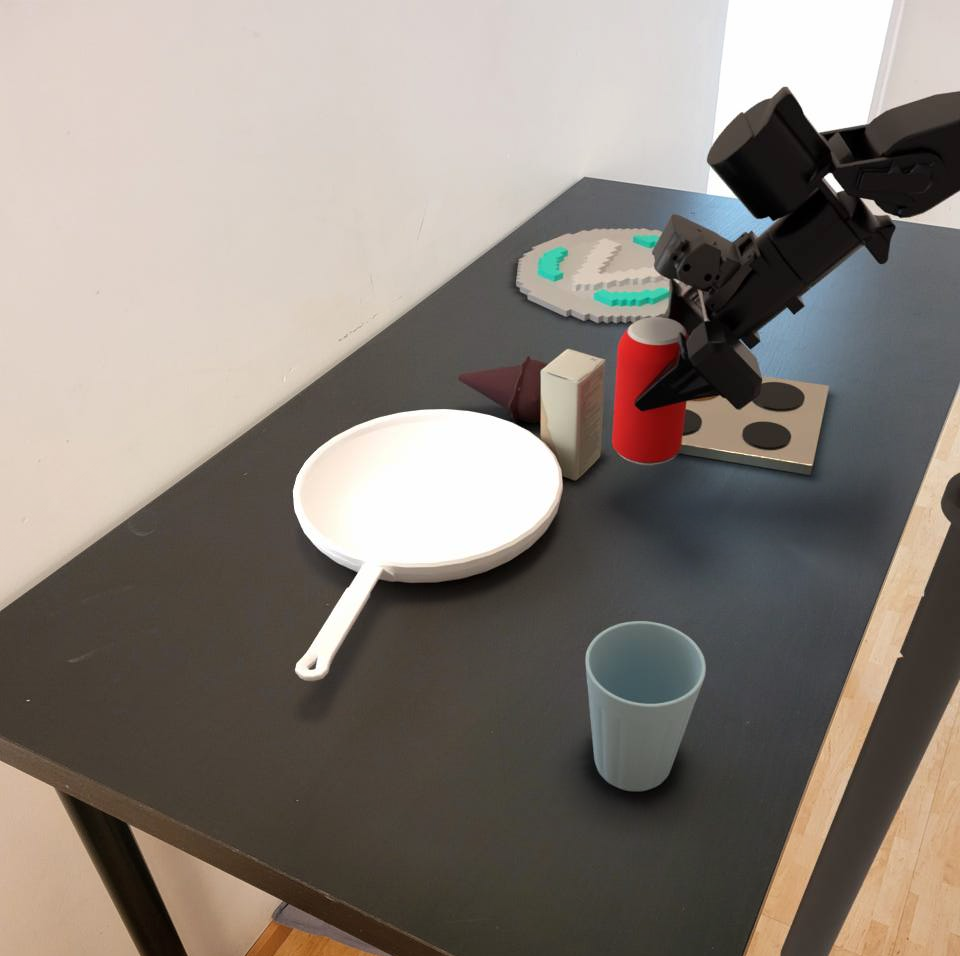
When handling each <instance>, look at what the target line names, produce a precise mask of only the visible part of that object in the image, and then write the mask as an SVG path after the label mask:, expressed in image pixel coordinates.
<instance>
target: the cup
mask: <svg viewBox="0 0 960 956" xmlns="http://www.w3.org/2000/svg"><path fill="white" fill-rule="evenodd" d="M584 664H585V675H586V684H587V695H588V706H589V717H590V729H591V739H592V740H591V741H592V747H593V748H592V749H593V760H594V764H595V767H596V769H597V772H598V774H599V775H600V776H601V777H602V778H603V779H604V780H605V781H606V782H607V783H608V784H609V785H611V786H613V787H615V788H617V789H620V790H623V791H627V792H646V791H648V790H651V789H653V788H654V789H655V788H656V787H658V786H660V785H661V784H662V783H664V782H665V780H666V779H668V776H669V775H670V773H671V770H672V767H673V766H674V762H675V760H676V757H677V755H678V752H679V748H680V747H681V746H680V745H681V743H682V741H683V737H684V734H685V732H686V728H687V726H688V723H689V721H690V719H691V715H692V712H693V710H694V707H695V704H696V701H697V699H698V698H699V694H700V691H701V688H702V686H703V683H704V681H705V677H706V673H707V666H706V659H705V656H704V654H703V651H702V650H701V649H700V647H699V646H698V645H697V643H696V642H695V641H694V640H693V639H692V638H691V637H690V636H688V635H686V634H685V633H684V632H682V631H681V630H679V629H677V628H674V627H673V626H669V625H667V624H663V623H658V622H654V621H648V620H647V621H646V620H642V621H641V620H636V621H627V622H621V623H617V624H615V625H612V626H610V627H608V628H606V629H604V630H603V631H601V632H600V633H598V634H597V635H596V636H595V637H594V638H593V639H592V640H591V642H590V644H589V645H588V647H587V649H586V653H585V663H584Z"/></svg>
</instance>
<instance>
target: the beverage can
mask: <svg viewBox="0 0 960 956" xmlns="http://www.w3.org/2000/svg"><path fill="white" fill-rule="evenodd" d="M679 332H681V333H682V334H683V335H684V336H685V337H686V338H687V339H688V338H689V335H688V333H687V331H686V329H685V327H684V326H683V325H681V324H680V323H678V322H676V321H674V320H672V319H668V318H661V317H650V318H644V319H641V320H638V321H636V322H634V323H633V322H631V323H630V325H629V326H628V327H627V329H626V330H625V332H624V333H623V335H622V336H621V337H620V338H619V342H618V345H617V352H616V353H617V354H616V373H615V374H616V375H615V387H614V388H615V389H614V406H613V421H612V422H613V423H612V435H611V436H612V437H611V438H612V440H611V442H612V443H611V444H612V446H613V448H614V450H615V451H616V453H617V454H618V455H619V456H620V457H621V458H623V459H624V460H626V461H628V462H631V463H633V464H637V465H640V466H655V465H661V464H664V463H667V462H669V461H671V460H673V459H675V458H676V456H678V454H679V453H678V452H679V450H680V447H681V444H682V436H683V427H684V419H685V411H686V403H687V401H685V402H680V403H676V404H672V405H668V406H664V407H659V408H655V409H651V410H647V411H640V410H639V409H638V408H637V407H636V406H635V405H634V401H635V399H636V398H637V397H638V396H639V395H640V394H641V392H642V391H643V390H644V389H645V388H646V387H647V386H648V385H649V384H650V383H651V382H652V380H653V379H654V378H655V377H656V376H657V375H658V374H659V373H660V372H661V371H662V370H663V369H664V368H665V367H666V366H667V365H668V364H669V363H670V362H671V360H672V359H673V358H674V357H675V355H676V349H677V341H678V334H679Z"/></svg>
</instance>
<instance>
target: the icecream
mask: <svg viewBox="0 0 960 956" xmlns="http://www.w3.org/2000/svg"><path fill="white" fill-rule="evenodd" d="M548 364H549V363H546V362H544V361H540V360H537V359H531V357H530V355H528V356H526V357H525V358H524V361H523V362H522V363H521V364H517V365H510V366H506V367H505V366H503V367H497V368H491V369H485V370H478V371H471V372H465V373H459V374H458V377H457V379H458V381H459V382H461V383H462V384H465V385H466V386H468V387H469V388H471V389H473V390H475V391H476V392H478V393H479V394H481V395H483V396H484V397H486V398H488V399H489V400H491V401H492V402H494V403H496V405H499V406H501V407H502V408H503V409H505V410H507V411H508V412H510V413H511V414H510V418H511V419H512V422H513V423H514V424H517V422H518V421H522V422H525V423H533V424H536V423H538V422H539V423H540V422H541V370H542V369H543V368H545V367H546V366H547V365H548Z"/></svg>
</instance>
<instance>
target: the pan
mask: <svg viewBox="0 0 960 956" xmlns="http://www.w3.org/2000/svg"><path fill="white" fill-rule="evenodd" d="M563 491H564V485H563V476H562V472H561V468H560V466H559V464H558V461H557V459H556V457H555V455H554V454H553V453H552V451H551V450H550V449H549V448H548V447H547V445H546V444H545V443H544V442H543V441H541V438H539V437H538V436H536V435H535V434H534V433H532V431H530V430H528V429H525V428H524V427H521V426H520V425H518V424H517V423H514V422H513V421H512V422H511V421H509V420H505V419H502V418H499V417H497V416H493V415H490V414H485V413H480V412H476V411H470V410H462V409H461V410H459V409H447V408H442V409H441V408H440V409H419V410H410V411H403V412H397V413H393V414H389V415H383V416H379V417H377V418H374V419H370V420H368V421H365V422H362V423H359V424H356V425H354V426H352V427H350V428H349V429H346V430H345V431H342V432H340V433H339V434H337V435H335V436H333V437H332V438H331V439H329V440H328V441H326V442H325V443H324V444H322V445H321V446H320V447H318V448H317V449H316V451H314V452H313V453H312V454H311V455H310V456H309V458H308V459H307V460H305V462H304V464H303V466H302V467H301V469H300V470H299V473H298V474H297V475H296V478H295V483H294V486H293V490H292V493H293V494H292V495H293V506H294V513H295V515H296V517H297V519H298V523H299V524H300V527H301V529H302V531H303V533H304V535H306V537H307V538H308V539H309V540H310V542H311V543H312V545H314V546H315V547H316V548H317V549H318V551H320V552H321V553H322V554H324V555H325V556H327V557H328V558H329V559H331V560H332V561H334V562H335V563H337V564H339V565H340V566H342V567H345V568H347V569H350V570H352V571H354V572H356V573H357V574H356V576H355V577H354V578H353V580H352V581H351V583H350V585H349V587H346V589H345V591H344V592H343V594H342V595H341V597H340V598H339V600H338V601H337V603H336V605H335V606H334V608H333V609H332V611H331V613H330V614H329V616H328V617H327V619H326V621H325V622H324V624H323V626H322V627H321V629H320V630H319V632H318V634H317V635H316V637H315V639H314V640H313V641H312V644H311V645H310V647H309V648H308V649H307V651H306V653H304V655H303V656H302V657H301V658H300V659H299V660H298V661H297V662H296V665H295V669H294V672H295V674H296V675H297V676H298V677H299V678H300V679H301V680H304V681H306V682H308V681H309V682H315V681H319V680H323V679H324V678H325V677H326V676H327V675H328V674H329V672H330V667H331V664H332V662H333V660H334V658H335V656H336V655H337V653H338V651H339V649H340V648H341V646H342V645H343V643H344V641H345V640H346V638H347V636H348V635H349V633H350V631H351V629H352V628H353V625H354V624H355V623H356V621H357V619H358V617H359V616H360V613H361V612H362V611H363V609H364V607H365V605H366V604H367V602H368V600H369V599H370V597H371V593H372V591H373V589H374V587H375V586H376V585H377V582H378V581H379V580H382V581H387V582H392V583H393V582H401V583H410V584H413V583H414V584H417V583H419V584H421V583H441V582H447V581H454V580H461V579H466V578H469V577H472V576H475V575H479V574H483V573H486V572H488V571H490V570H493V569H495V568H497V567H499V566H501V565H503V564H506V563H508V562H510V561H511V560H513V559H514V558H516V557H518V556H519V555H522V553H523V552H525V551H526V550H528V549H529V548H531V547H532V546H533V545H534V544H535V543H536V542H537V541H538V540H539V539H540V538H541V537H542V536H543V535H544V534H545V533H546V531H547V530H548V529H549V527H550V526H551V524H552V522H553V520H554V518H555V517H556V516H557V514H558V511H559V507H560V503H561V499H562V494H563ZM314 665H315V668H314V669H310V668H312V667H313V666H314Z"/></svg>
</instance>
